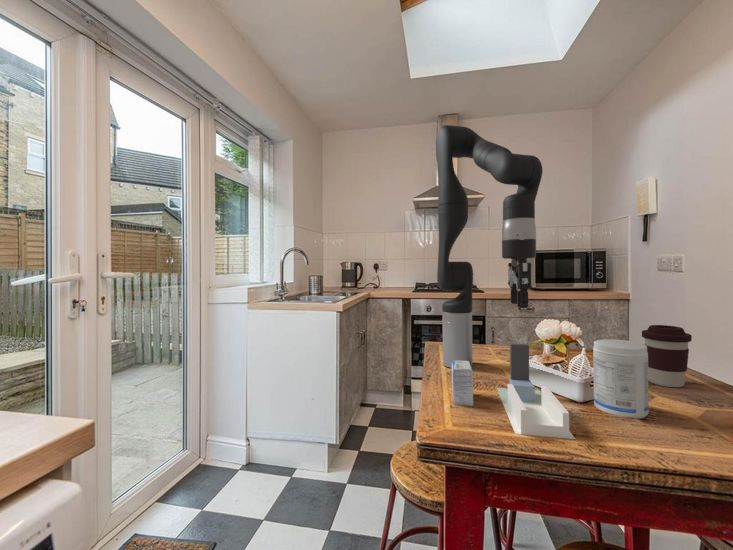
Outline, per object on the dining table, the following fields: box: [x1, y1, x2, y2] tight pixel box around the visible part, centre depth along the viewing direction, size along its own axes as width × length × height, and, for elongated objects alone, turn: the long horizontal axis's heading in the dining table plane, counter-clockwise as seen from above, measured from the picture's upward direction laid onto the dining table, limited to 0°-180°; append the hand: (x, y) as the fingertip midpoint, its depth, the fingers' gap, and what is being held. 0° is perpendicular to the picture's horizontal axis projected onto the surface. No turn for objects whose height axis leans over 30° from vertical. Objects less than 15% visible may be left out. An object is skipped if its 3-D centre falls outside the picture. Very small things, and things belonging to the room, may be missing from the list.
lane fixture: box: [496, 383, 576, 440], centre depth 75 cm, size 25×10×5 cm, turn 167°
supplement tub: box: [592, 338, 649, 420], centre depth 74 cm, size 10×10×15 cm
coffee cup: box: [641, 324, 693, 388], centre depth 91 cm, size 10×10×15 cm
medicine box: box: [450, 360, 474, 406], centre depth 81 cm, size 8×4×9 cm, turn 168°
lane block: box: [508, 342, 536, 402], centre depth 82 cm, size 6×4×12 cm
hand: (518, 305), depth 84 cm, fingers open, 8 cm apart
